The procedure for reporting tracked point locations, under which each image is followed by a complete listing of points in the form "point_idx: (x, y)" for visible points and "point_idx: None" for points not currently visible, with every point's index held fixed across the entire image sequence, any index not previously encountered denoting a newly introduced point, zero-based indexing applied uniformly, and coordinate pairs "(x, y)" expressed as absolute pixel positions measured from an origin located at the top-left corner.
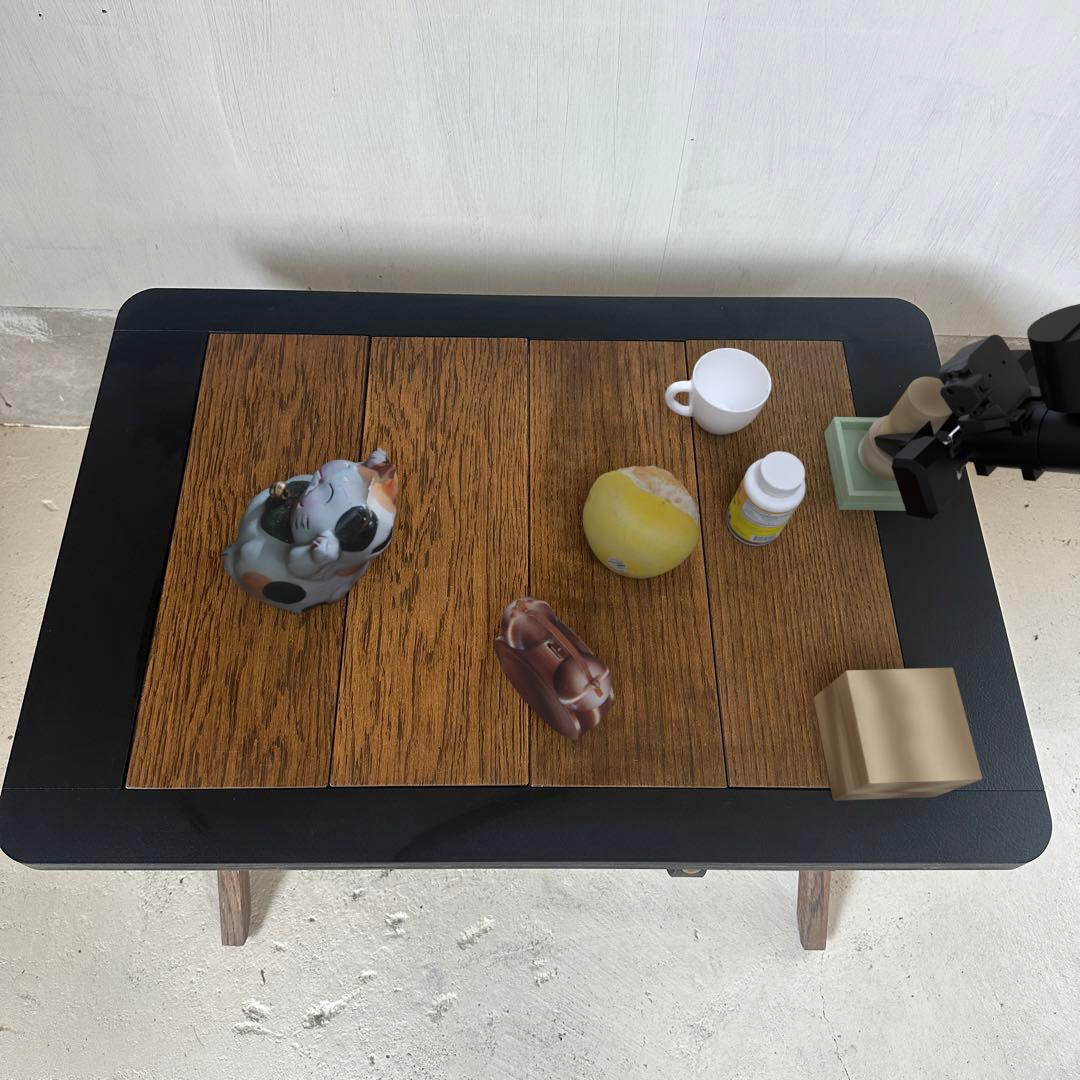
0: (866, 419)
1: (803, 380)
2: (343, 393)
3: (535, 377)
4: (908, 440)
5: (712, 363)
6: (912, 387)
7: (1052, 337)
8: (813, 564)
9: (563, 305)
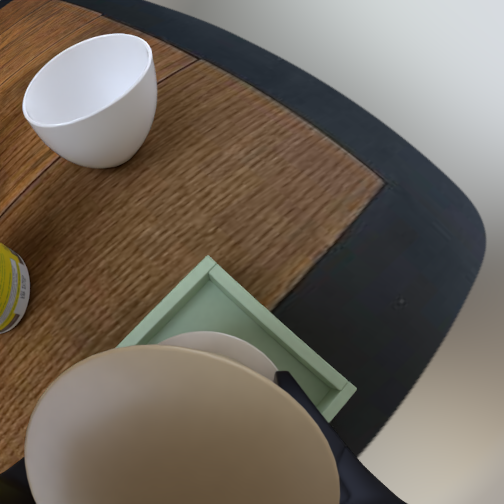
0: (257, 309)
1: (276, 181)
2: (10, 23)
3: (66, 38)
4: (15, 472)
5: (130, 59)
6: (112, 372)
7: None
8: (10, 400)
9: (154, 3)
